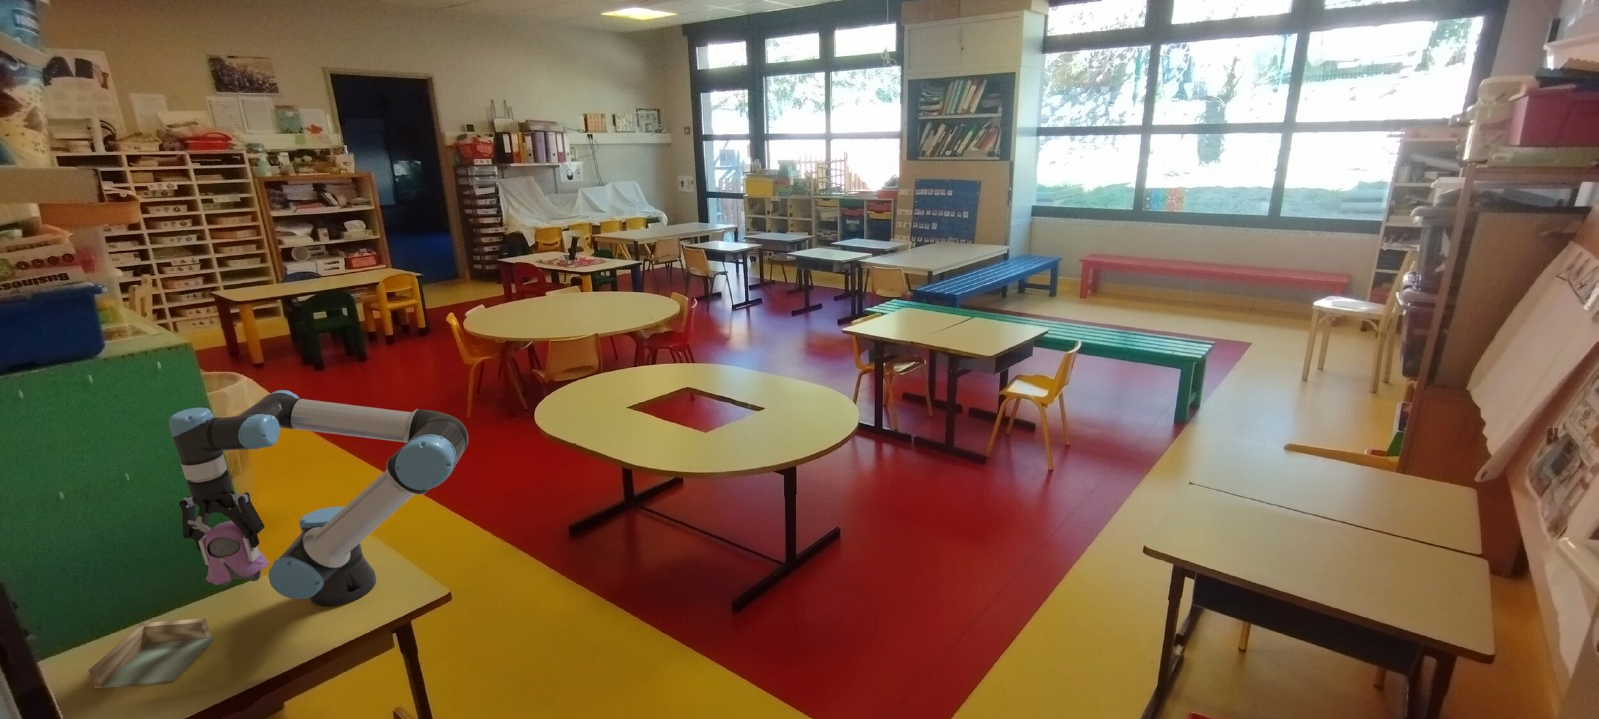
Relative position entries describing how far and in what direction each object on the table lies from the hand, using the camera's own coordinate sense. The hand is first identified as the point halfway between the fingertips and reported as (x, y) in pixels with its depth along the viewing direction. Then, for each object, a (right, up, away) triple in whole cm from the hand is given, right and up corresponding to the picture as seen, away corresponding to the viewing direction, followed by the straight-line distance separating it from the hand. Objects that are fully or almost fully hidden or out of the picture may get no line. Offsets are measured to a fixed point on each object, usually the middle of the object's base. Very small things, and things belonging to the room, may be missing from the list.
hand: (233, 560), depth 171 cm
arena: (-14, -22, -4) cm, 26 cm away
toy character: (0, -6, +2) cm, 7 cm away
